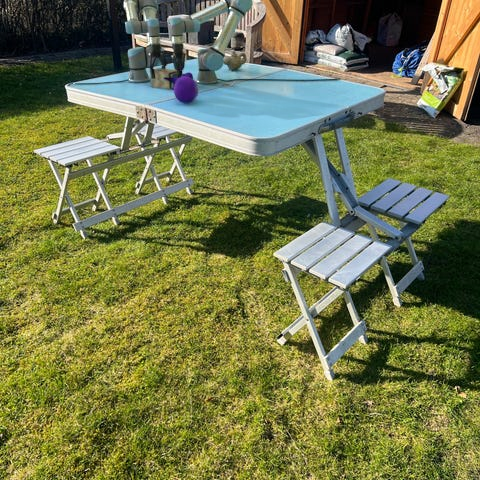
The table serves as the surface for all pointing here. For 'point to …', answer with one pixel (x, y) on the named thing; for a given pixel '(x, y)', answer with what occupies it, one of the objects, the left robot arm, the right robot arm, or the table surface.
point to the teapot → (235, 61)
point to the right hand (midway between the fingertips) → (180, 80)
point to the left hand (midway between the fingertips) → (158, 77)
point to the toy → (184, 87)
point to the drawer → (173, 76)
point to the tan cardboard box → (161, 78)
